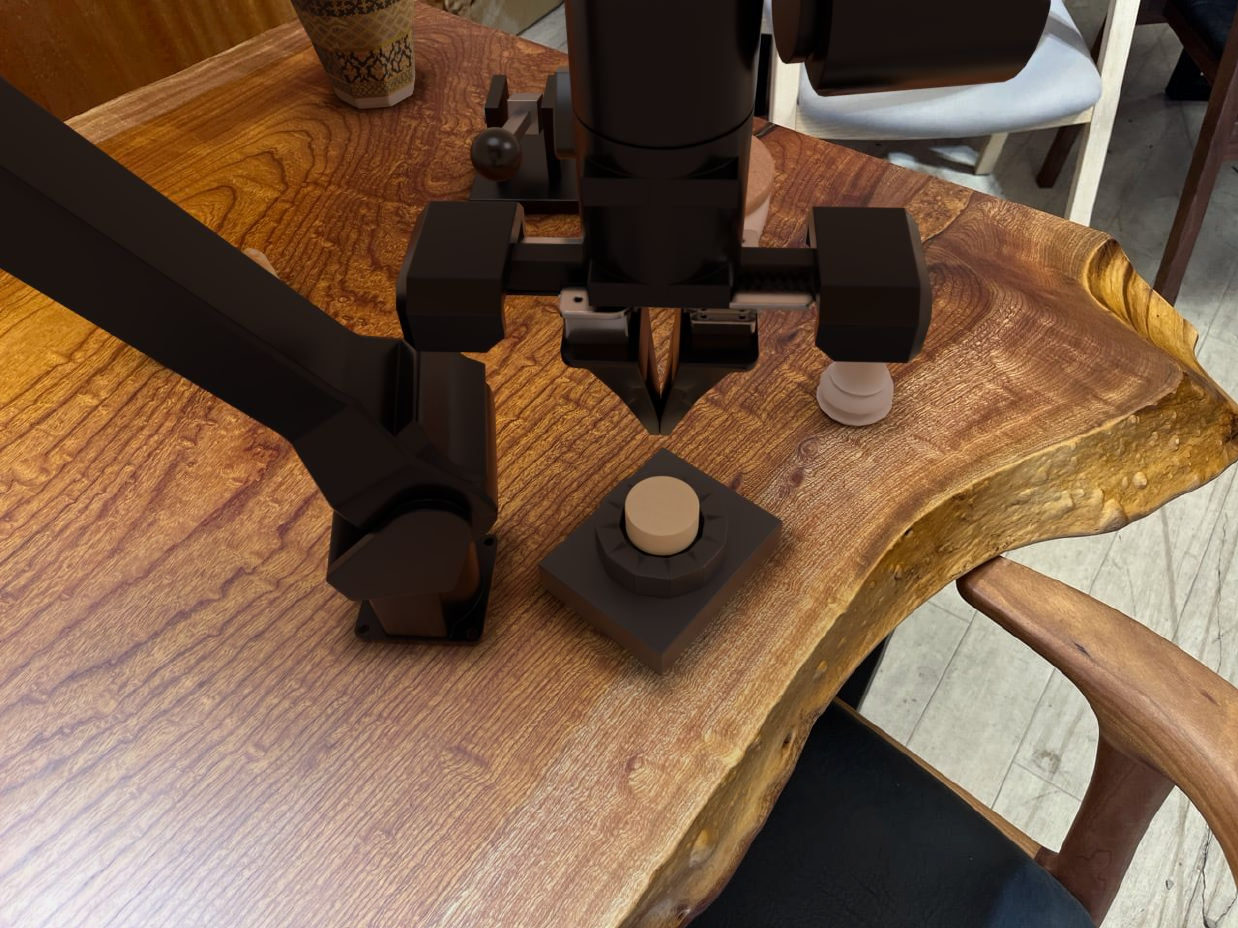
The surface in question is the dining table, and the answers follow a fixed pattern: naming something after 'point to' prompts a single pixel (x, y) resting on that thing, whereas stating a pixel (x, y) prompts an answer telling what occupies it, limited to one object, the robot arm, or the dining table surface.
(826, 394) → the rook chess piece
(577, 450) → the dining table surface
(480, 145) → the lever handle
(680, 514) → the button
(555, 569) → the button housing
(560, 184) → the lever bracket
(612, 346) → the robot arm
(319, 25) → the ceramic cup
